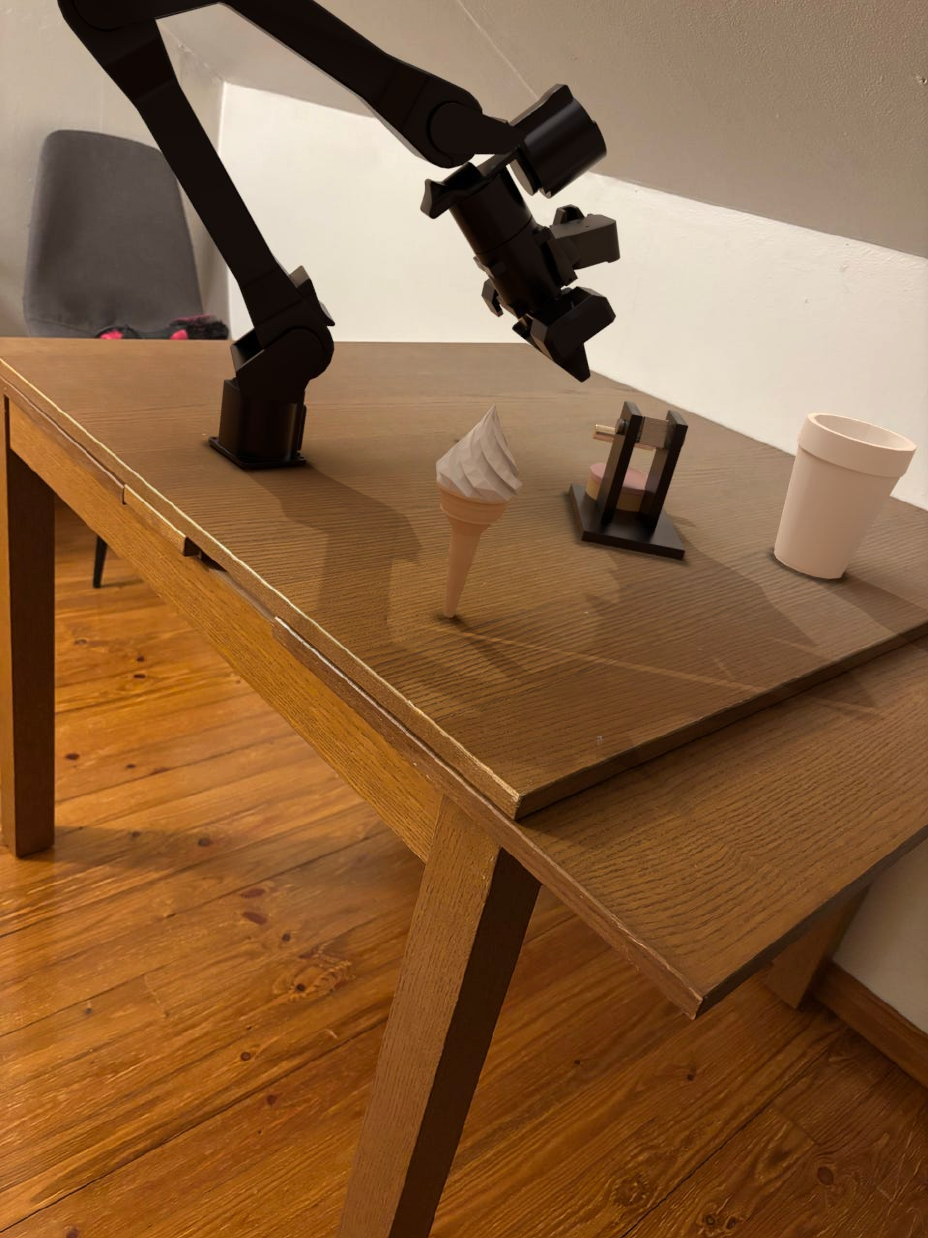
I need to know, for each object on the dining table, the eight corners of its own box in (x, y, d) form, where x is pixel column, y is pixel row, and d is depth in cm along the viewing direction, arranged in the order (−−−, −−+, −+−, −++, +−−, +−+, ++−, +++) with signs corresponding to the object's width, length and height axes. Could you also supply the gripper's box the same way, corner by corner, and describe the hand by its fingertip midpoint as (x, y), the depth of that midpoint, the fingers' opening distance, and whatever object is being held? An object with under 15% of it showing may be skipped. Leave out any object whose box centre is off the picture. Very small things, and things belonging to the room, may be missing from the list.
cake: (618, 527, 90) (629, 492, 88) (567, 498, 94) (576, 465, 92) (662, 519, 94) (673, 486, 92) (611, 493, 98) (621, 460, 96)
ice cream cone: (459, 648, 63) (512, 424, 56) (389, 614, 65) (432, 394, 59) (502, 622, 68) (555, 411, 61) (435, 591, 70) (479, 384, 63)
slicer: (567, 494, 95) (597, 384, 90) (657, 512, 95) (692, 404, 91) (580, 543, 84) (615, 421, 79) (681, 563, 85) (721, 444, 80)
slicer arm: (590, 444, 96) (595, 419, 96) (649, 456, 97) (654, 431, 96) (617, 438, 84) (623, 410, 84) (684, 452, 85) (690, 424, 84)
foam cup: (752, 565, 88) (804, 426, 82) (759, 534, 96) (808, 405, 90) (859, 599, 86) (921, 459, 80) (857, 565, 94) (913, 435, 88)
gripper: (626, 188, 74) (704, 353, 83) (543, 161, 90) (616, 303, 98) (506, 277, 75) (596, 432, 84) (444, 235, 91) (525, 370, 99)
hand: (585, 378), depth 91 cm, fingers closed
